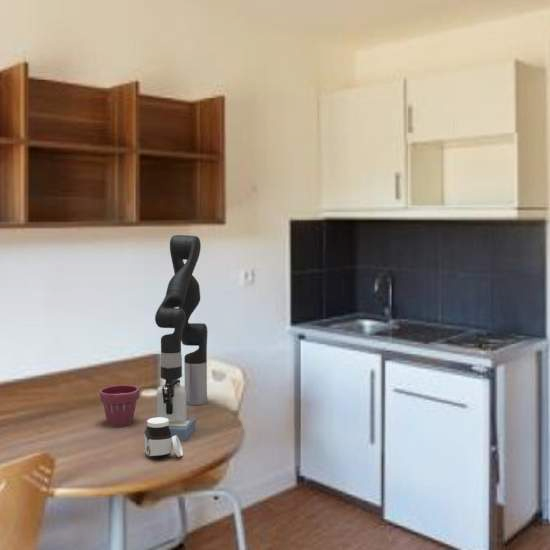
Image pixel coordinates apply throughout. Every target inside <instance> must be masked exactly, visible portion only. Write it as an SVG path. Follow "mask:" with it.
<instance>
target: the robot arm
mask: <svg viewBox="0 0 550 550" xmlns="http://www.w3.org/2000/svg"><path fill="white" fill-rule="evenodd" d="M200 253H201V239H200V238H199V236H197V235H185V234H183V235H182V234H176V235H175V234H174V235H173V236H171V238H170V239H169V254H170V257H171V258H170V259H171V262H172V266H173V267H172V268H173V273H174V275H173V276H172V277H171V279H170V280H169V282H168V284H167V288H166V292H165V296H164V298H163V300H162V301H161V303H160V305H159V306H158V309H157V310H156V312H155V315H154V322H155V324H156V326H157V327H158V328H162V329H174V331H173V332H172V333H169V334H164V335H162V336H161V338H160V358H159V359H160V360H159V362H160V363H159V364H160V366H159V367H160V369H159V370H160V371H159V372H160V374H159V375H160V378H161V379H162V380H165V383H164V385H163V386H164V388H162V393H163V402H164V403H165V404H166V414H172V413H173V397H174V396H175V389H176V385H179V386H181V383H180V382H181V380H180V379H182V377H183V368H184V387H185V391H186V405H188V406H201V405H205V404H207V403H208V362H207V361H208V356H207V355H208V353H207V351H208V349H207V348H208V327H207V324H206V323H202V322H201V323H194V322H189V319H190V317H191V316H192V314H194V311H195V310H196V309H197V307H198V306H199V304H200V301H201V289H200V284H199V281H198V280H197V279H196V277H195V276H194V274H193V273H194V270H195V268H196V265H197V263H198V260H199V257H200ZM184 260H185V261H184ZM184 262H185V263H184ZM182 345H183V346H189V347H190V346H192V347H194V346H198V348H197V349H195V350H194V351H192V352H188V353H187V354H185V355H184V358H183V357H182ZM183 360H184V362H183ZM183 363H184V367H183ZM170 393H172V395H171V394H170ZM168 398H169V400H168Z"/></svg>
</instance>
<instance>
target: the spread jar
mask: <svg viewBox="0 0 550 550" xmlns="http://www.w3.org/2000/svg"><path fill="white" fill-rule="evenodd" d="M168 424H169V420H168V419H167V418H163V417H156V416H155V417H151V418H149V419H147V420H146V425H147V426H146V427H145V430H144V451H145V455H146V457H147V458H149V459H150V460H163V459H167V458H168V457H170V456H171V455H172V451H173V450H174V452H175V454H176V455H175V456H177V458H181V457H183V456H184V452H183V446H182V443H181V441H180V440H179V438H178V436H177V435H175V436H172V434H171V430H170V427H169V425H168Z"/></svg>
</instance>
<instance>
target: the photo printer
mask: <svg viewBox="0 0 550 550" xmlns="http://www.w3.org/2000/svg"><path fill="white" fill-rule="evenodd" d="M162 388H164V385H161V386H158V388H157V390H156V391H157V392H156V409H157V417H163V418H167V419H168V420H185V419H186V418H187V404H186V391H185V386H182V385H180V386H179V385H176V389H175V396H174V397H173V413H172V414H166V404H165V403H164V402H163V393H162ZM170 394H171V395H172V393H170ZM168 400H169V398H168Z"/></svg>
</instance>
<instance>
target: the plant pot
mask: <svg viewBox="0 0 550 550" xmlns="http://www.w3.org/2000/svg"><path fill="white" fill-rule="evenodd" d="M139 399H140V389H139V387H137V386H136V385H131V384H130V385H129V384H115V385H110V386H106V387H103V388H101V389H100V390H99V401H100V402H102V405H103V409H104V413H105V418H106V421H107V425H109V426H111V427H123V426H129V425H131V424H132V423H133V422H134V416H135V410H136V406H137V401H138V400H139Z"/></svg>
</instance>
